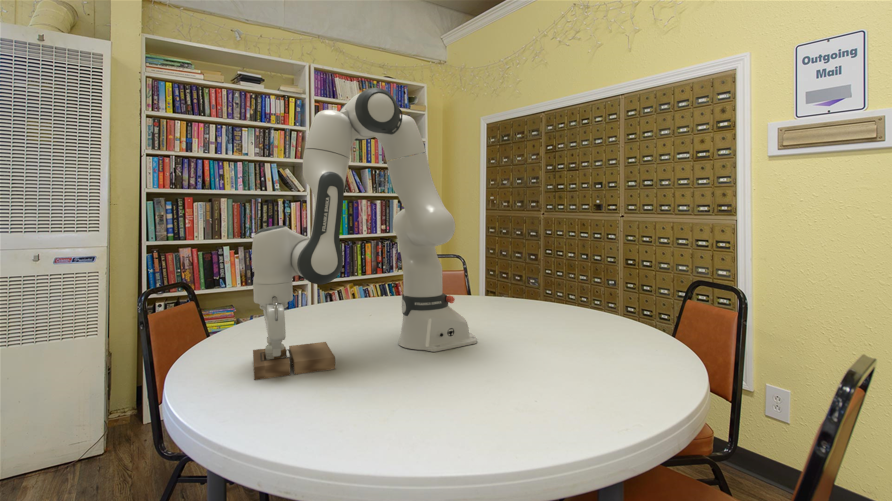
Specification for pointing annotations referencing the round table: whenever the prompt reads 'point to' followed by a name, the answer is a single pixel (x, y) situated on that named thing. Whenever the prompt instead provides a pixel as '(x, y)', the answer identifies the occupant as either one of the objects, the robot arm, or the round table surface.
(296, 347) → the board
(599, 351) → the round table surface
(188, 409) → the round table surface
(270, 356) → the pill bottle
